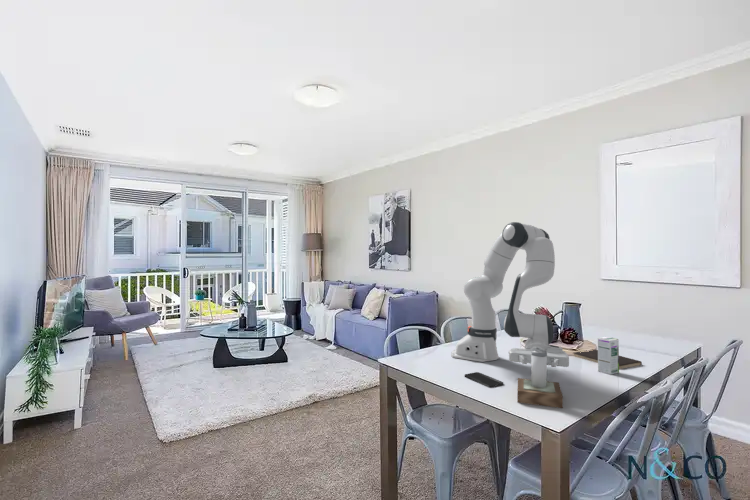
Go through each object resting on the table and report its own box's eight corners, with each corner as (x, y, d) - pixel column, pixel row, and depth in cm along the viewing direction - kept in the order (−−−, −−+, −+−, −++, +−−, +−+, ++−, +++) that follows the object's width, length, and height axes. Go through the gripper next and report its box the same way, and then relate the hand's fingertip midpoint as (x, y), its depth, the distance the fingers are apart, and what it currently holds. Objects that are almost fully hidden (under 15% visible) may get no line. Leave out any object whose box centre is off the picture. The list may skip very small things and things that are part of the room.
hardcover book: (618, 370, 172) (618, 365, 172) (572, 357, 193) (572, 352, 193) (641, 366, 178) (641, 361, 178) (595, 353, 199) (595, 349, 199)
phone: (477, 371, 165) (504, 382, 152) (477, 374, 165) (504, 385, 152) (463, 374, 162) (489, 386, 148) (463, 377, 162) (489, 388, 148)
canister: (531, 386, 137) (531, 352, 137) (530, 382, 142) (530, 348, 142) (547, 388, 135) (547, 353, 135) (546, 383, 140) (546, 350, 140)
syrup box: (611, 375, 164) (611, 340, 164) (597, 371, 169) (597, 337, 169) (619, 373, 167) (619, 338, 167) (605, 369, 172) (605, 336, 172)
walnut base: (517, 402, 135) (517, 389, 135) (517, 388, 148) (517, 377, 148) (562, 408, 130) (562, 394, 130) (558, 393, 143) (558, 381, 143)
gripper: (508, 342, 154) (507, 351, 141) (566, 347, 147) (570, 357, 134) (508, 358, 154) (507, 368, 142) (566, 364, 147) (570, 375, 134)
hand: (538, 363), depth 138 cm, fingers open, 8 cm apart
